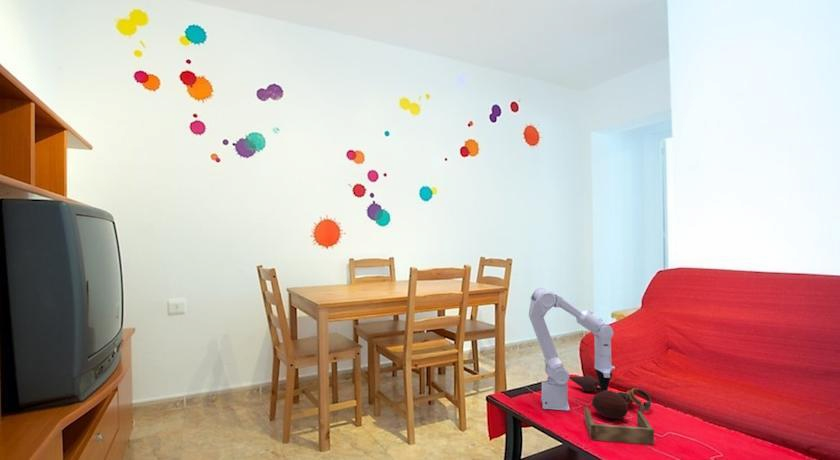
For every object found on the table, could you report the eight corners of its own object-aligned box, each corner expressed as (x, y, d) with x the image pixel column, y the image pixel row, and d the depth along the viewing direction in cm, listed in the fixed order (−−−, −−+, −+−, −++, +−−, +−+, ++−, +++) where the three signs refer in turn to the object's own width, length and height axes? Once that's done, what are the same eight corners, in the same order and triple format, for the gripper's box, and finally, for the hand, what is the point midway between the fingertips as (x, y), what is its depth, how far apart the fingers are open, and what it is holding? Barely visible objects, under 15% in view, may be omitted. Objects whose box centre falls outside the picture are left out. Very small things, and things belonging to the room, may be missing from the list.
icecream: (565, 374, 178) (602, 385, 168) (572, 366, 183) (609, 376, 173) (565, 389, 180) (602, 401, 170) (572, 380, 185) (609, 391, 175)
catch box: (591, 439, 136) (591, 425, 136) (584, 420, 149) (584, 407, 149) (654, 444, 132) (653, 429, 132) (641, 424, 145) (640, 411, 145)
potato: (624, 426, 144) (623, 399, 144) (588, 417, 152) (587, 390, 152) (632, 418, 150) (631, 391, 150) (597, 409, 158) (596, 384, 158)
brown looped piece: (637, 403, 164) (647, 388, 161) (647, 424, 156) (658, 408, 152) (607, 396, 164) (617, 380, 160) (616, 416, 155) (626, 401, 152)
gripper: (618, 360, 154) (619, 398, 154) (610, 349, 168) (610, 384, 168) (597, 359, 156) (598, 397, 156) (590, 349, 170) (591, 383, 170)
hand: (603, 390), depth 162 cm, fingers closed
